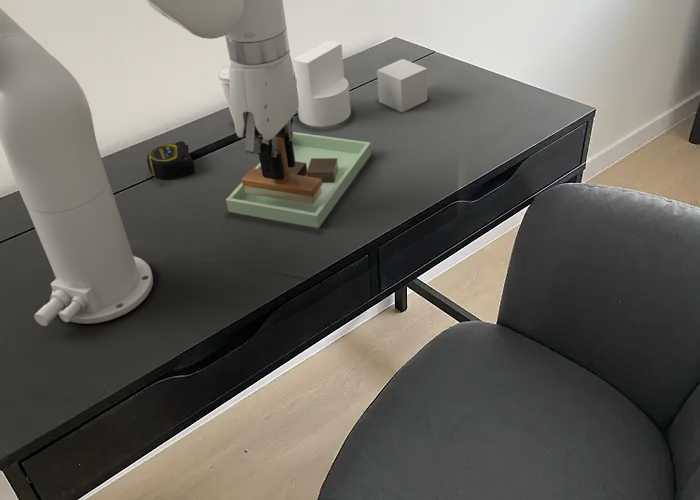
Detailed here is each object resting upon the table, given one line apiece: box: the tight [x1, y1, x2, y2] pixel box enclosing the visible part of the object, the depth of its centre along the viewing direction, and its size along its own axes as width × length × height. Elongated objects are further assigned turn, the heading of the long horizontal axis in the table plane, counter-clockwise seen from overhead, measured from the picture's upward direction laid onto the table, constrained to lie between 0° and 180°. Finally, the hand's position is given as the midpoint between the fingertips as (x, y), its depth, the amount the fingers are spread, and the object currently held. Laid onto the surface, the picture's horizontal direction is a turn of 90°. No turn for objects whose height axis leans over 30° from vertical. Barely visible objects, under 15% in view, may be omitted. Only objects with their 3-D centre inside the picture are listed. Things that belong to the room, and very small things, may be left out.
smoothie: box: [216, 63, 234, 122], centre depth 125 cm, size 6×6×14 cm
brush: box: [241, 137, 322, 205], centre depth 103 cm, size 3×11×8 cm, turn 67°
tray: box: [225, 131, 372, 229], centre depth 111 cm, size 20×14×3 cm
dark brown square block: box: [288, 161, 307, 176], centre depth 112 cm, size 4×4×2 cm
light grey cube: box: [376, 58, 428, 113], centre depth 129 cm, size 6×6×6 cm
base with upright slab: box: [293, 39, 352, 128], centre depth 125 cm, size 9×9×12 cm
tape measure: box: [146, 140, 196, 181], centre depth 117 cm, size 7×7×4 cm
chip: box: [307, 158, 338, 183], centre depth 112 cm, size 4×4×2 cm
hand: (279, 170), depth 103 cm, fingers closed on brush, 2 cm apart
